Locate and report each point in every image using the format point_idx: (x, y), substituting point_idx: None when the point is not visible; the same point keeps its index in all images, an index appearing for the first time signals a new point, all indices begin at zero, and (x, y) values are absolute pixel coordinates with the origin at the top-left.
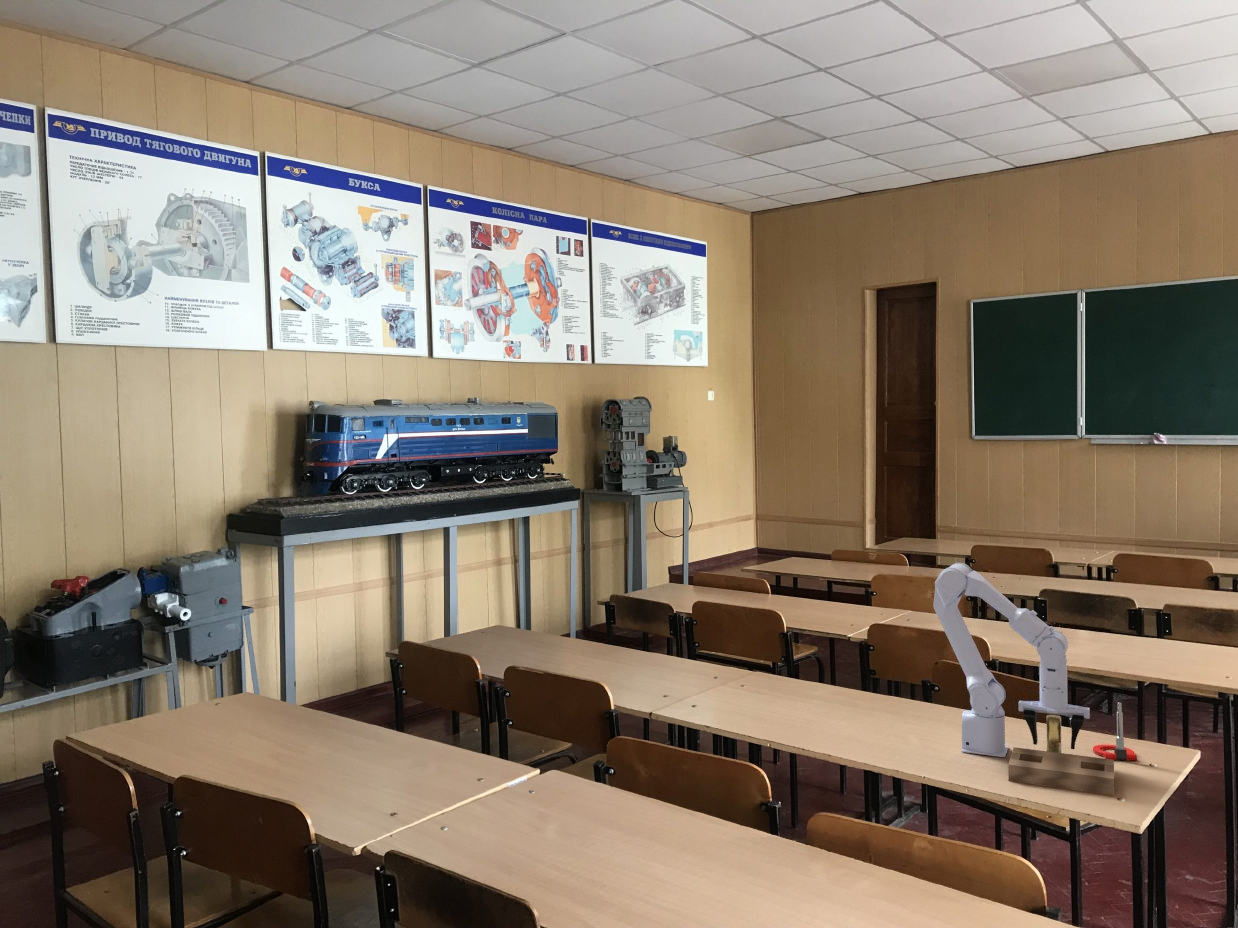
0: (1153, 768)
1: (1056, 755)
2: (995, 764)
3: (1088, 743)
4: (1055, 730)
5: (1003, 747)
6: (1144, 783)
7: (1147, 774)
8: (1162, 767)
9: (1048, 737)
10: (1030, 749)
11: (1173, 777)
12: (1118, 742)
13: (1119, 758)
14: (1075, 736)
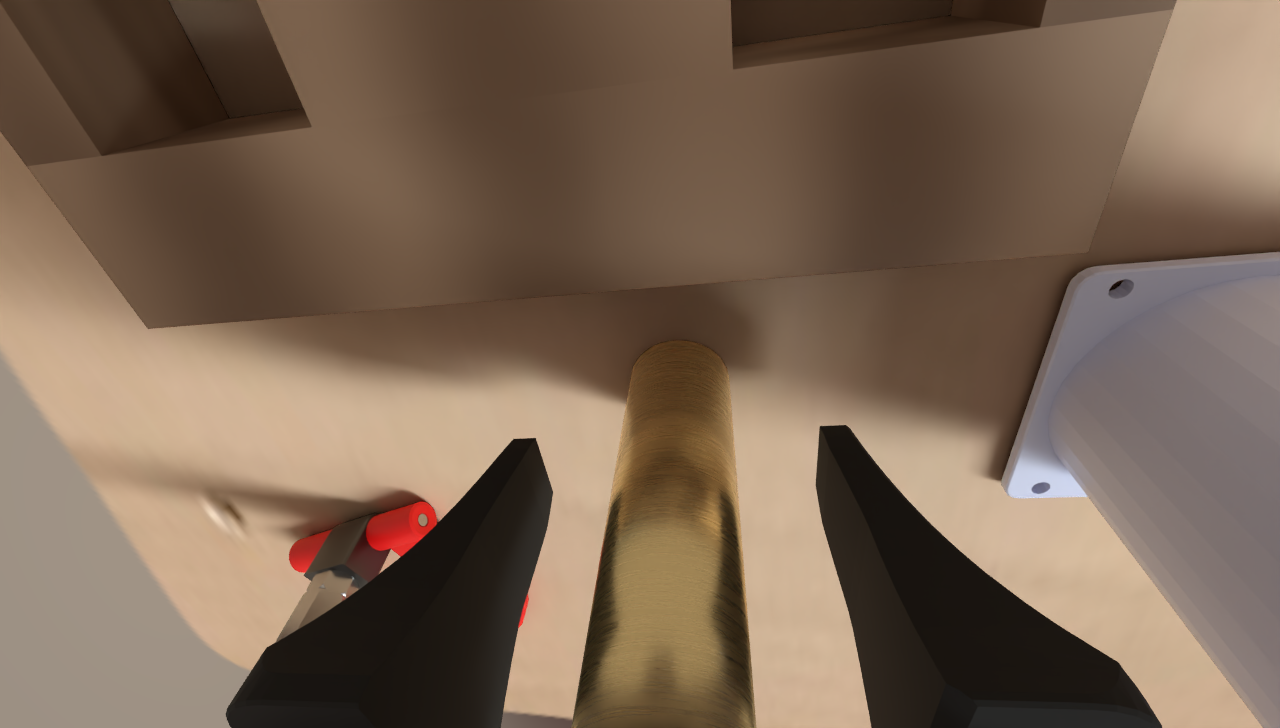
0: (188, 473)
1: (594, 194)
2: (1232, 23)
3: (572, 644)
4: (639, 557)
5: (1096, 387)
6: (26, 206)
7: (142, 379)
8: (171, 499)
9: (717, 491)
10: (885, 263)
11: (30, 392)
12: (316, 609)
13: (358, 520)
14: (448, 521)
